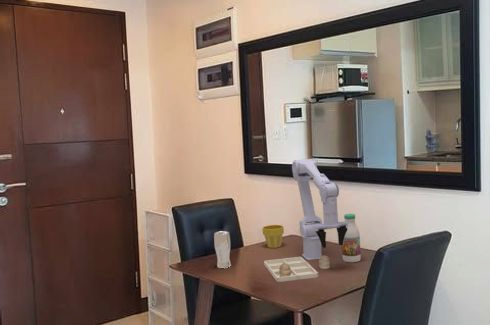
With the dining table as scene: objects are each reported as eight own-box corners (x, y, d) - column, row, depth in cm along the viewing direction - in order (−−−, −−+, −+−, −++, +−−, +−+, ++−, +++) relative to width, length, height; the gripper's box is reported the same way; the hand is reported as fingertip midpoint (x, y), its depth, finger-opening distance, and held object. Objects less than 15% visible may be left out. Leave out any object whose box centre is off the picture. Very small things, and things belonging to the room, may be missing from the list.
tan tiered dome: (278, 276, 206) (277, 262, 205) (289, 275, 206) (288, 261, 206) (281, 279, 201) (280, 265, 201) (292, 278, 202) (291, 264, 201)
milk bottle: (340, 258, 226) (338, 213, 225) (357, 257, 227) (355, 212, 225) (345, 263, 219) (343, 217, 217) (363, 261, 219) (361, 215, 218)
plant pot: (261, 245, 258) (259, 226, 257) (280, 242, 260) (279, 223, 259) (266, 250, 248) (265, 230, 247) (287, 247, 250) (286, 227, 249)
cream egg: (317, 267, 215) (317, 254, 215) (328, 266, 216) (327, 253, 216) (321, 270, 211) (320, 257, 211) (331, 269, 212) (330, 256, 211)
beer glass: (234, 264, 228) (231, 231, 227) (228, 269, 221) (226, 234, 220) (219, 263, 230) (217, 230, 229) (213, 268, 224) (211, 234, 222)
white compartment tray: (264, 265, 223) (263, 260, 223) (301, 261, 226) (301, 256, 226) (277, 283, 199) (277, 278, 199) (318, 278, 202) (318, 273, 201)
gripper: (318, 216, 204) (320, 250, 205) (351, 212, 208) (353, 245, 209) (310, 214, 210) (313, 247, 211) (342, 210, 215) (344, 242, 216)
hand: (332, 246), depth 211 cm, fingers open, 7 cm apart
